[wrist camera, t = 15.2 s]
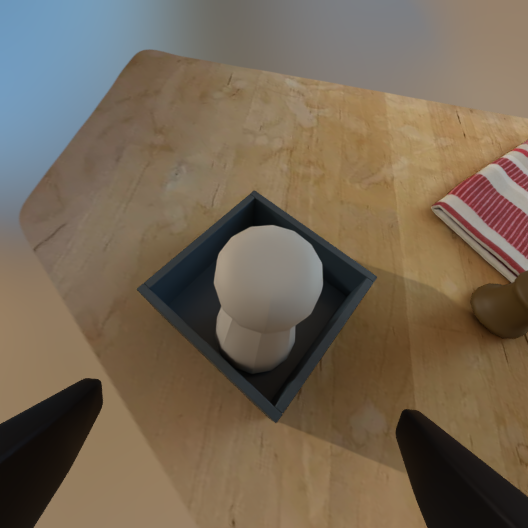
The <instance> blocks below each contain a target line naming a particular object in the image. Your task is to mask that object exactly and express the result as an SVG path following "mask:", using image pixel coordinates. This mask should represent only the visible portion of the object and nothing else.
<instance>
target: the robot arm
mask: <svg viewBox="0 0 528 528" xmlns="http://www.w3.org/2000/svg"><path fill="white" fill-rule="evenodd" d="M102 405H103V397H102V385H101V381H100V380H98V379H90V378H85V379H83V380H81V381H79V382H77V383H75V384H73V385H71V386H69V387H68V388H66V389H64V390H62V391H60V392H59V393H57V394H55V395H53V396H51V397H49V398H47V399H46V400H44V401H42V402H40V403H38V404H36V405H35V406H33V407H31V408H29V409H27V410H25V411H24V412H22V413H20V414H18V415H16V416H14V417H12V418H11V419H9V420H7V421H5V422H3V423H1V424H0V528H34V526H35V524H36V523H37V521H38V520H39V518H40V516H41V515H42V513H43V512H44V510H45V509H46V507H47V505H48V504H49V502H50V501H51V499H52V497H53V496H54V494H55V493H56V491H57V489H58V488H59V486H60V485H61V483H62V482H63V480H64V478H65V477H66V475H67V473H68V472H69V470H70V468H71V466H72V464H73V462H74V461H75V459H76V457H77V455H78V453H79V451H80V449H81V448H82V446H83V444H84V441H85V440H86V438H87V436H88V434H89V432H90V430H91V428H92V426H93V424H94V422H95V420H96V418H97V416H98V415H99V413H100V410H101V408H102ZM396 439H397V442H398V445H399V448H400V451H401V454H402V458H403V461H404V464H405V467H406V470H407V473H408V476H409V480H410V483H411V486H412V489H413V492H414V495H415V498H416V500H417V503H418V505H419V508H420V511H421V513H422V515H423V518H424V520H425V523H426V525H427V528H528V497H527V496H526V495H525V494H524V493H522V492H521V491H520V490H519V489H517V488H516V487H515V486H513V485H512V484H511V483H510V482H508V481H507V480H506V479H505V478H503V477H502V476H501V475H500V474H498V473H497V472H496V471H494V470H493V469H492V468H491V467H489V466H488V465H487V464H486V463H484V462H483V461H482V460H481V459H479V458H478V457H477V456H475V455H474V454H473V453H472V452H470V451H469V450H468V449H467V448H465V447H464V446H463V445H461V444H460V443H459V442H458V441H456V440H455V439H454V438H453V437H451V436H450V435H449V434H448V433H446V432H445V431H444V430H442V429H441V428H440V427H439V426H437V425H436V424H435V423H434V422H432V421H431V420H430V419H428V418H427V417H426V416H425V415H423V414H422V413H421V412H419V411H417V410H409V409H405V410H403V411H402V413H401V416H400V419H399V422H398V425H397V428H396Z"/></svg>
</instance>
